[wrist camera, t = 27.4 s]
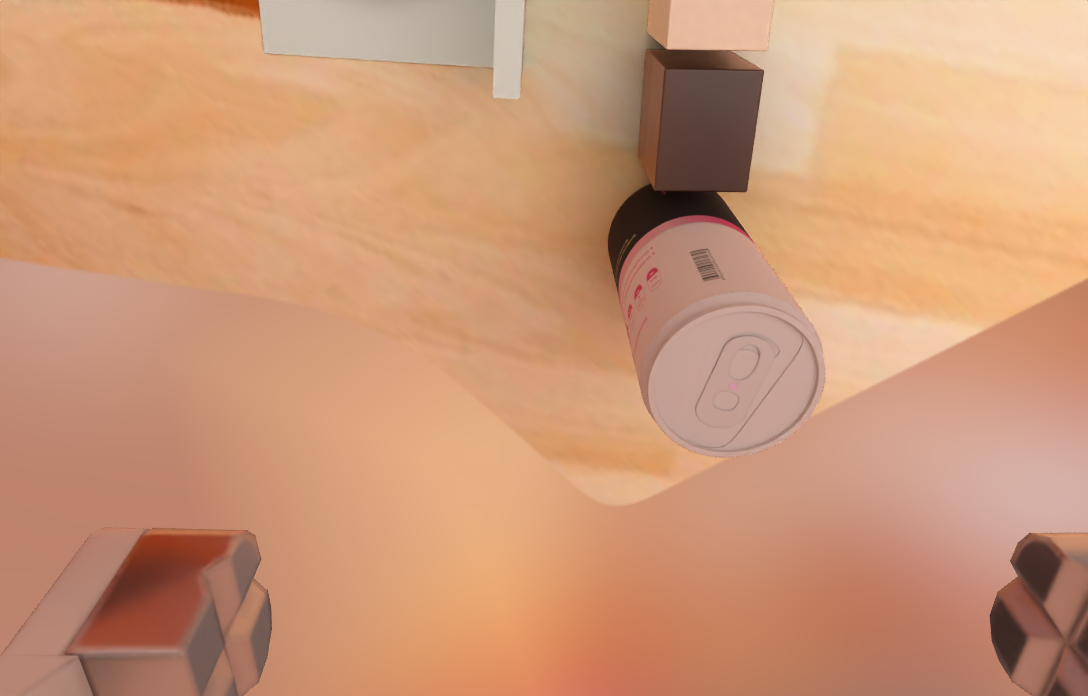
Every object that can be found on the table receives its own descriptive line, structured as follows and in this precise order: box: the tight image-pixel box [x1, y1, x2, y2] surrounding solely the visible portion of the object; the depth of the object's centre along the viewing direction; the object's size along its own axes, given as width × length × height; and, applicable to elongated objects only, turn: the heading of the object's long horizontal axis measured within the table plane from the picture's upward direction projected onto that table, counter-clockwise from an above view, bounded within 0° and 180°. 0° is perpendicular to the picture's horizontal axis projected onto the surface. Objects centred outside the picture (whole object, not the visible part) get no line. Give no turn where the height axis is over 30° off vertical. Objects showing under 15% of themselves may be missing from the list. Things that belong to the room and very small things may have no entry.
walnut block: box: [638, 49, 764, 192], centre depth 34 cm, size 4×5×6 cm
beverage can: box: [608, 184, 825, 457], centre depth 34 cm, size 7×6×15 cm
